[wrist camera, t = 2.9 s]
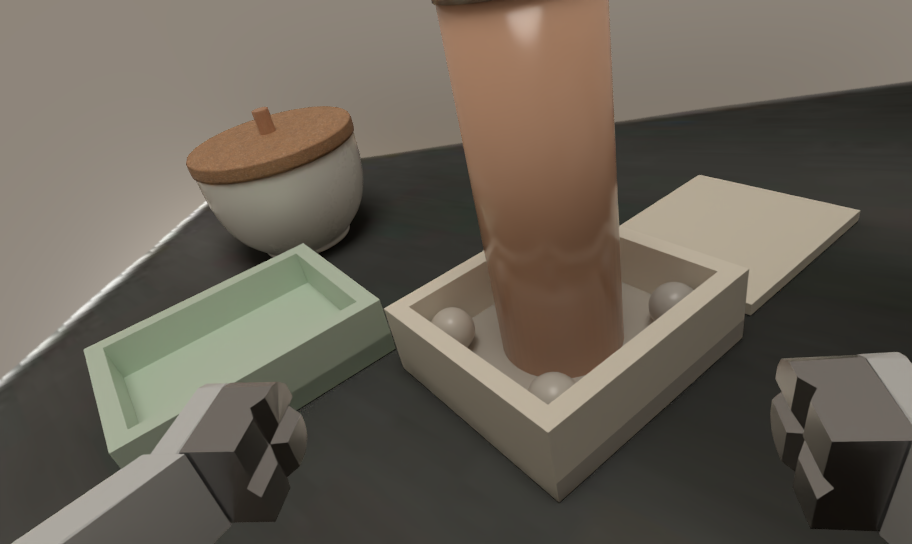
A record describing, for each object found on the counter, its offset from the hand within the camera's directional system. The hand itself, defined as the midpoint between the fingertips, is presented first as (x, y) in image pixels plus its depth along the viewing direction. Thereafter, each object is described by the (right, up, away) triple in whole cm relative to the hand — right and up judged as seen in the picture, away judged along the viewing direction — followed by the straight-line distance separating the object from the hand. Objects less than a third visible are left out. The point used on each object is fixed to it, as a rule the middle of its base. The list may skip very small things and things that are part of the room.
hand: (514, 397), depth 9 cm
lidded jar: (-12, +4, +31) cm, 33 cm away
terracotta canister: (+4, -1, +15) cm, 15 cm away
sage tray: (-11, -3, +19) cm, 22 cm away
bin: (+8, +1, +18) cm, 20 cm away
